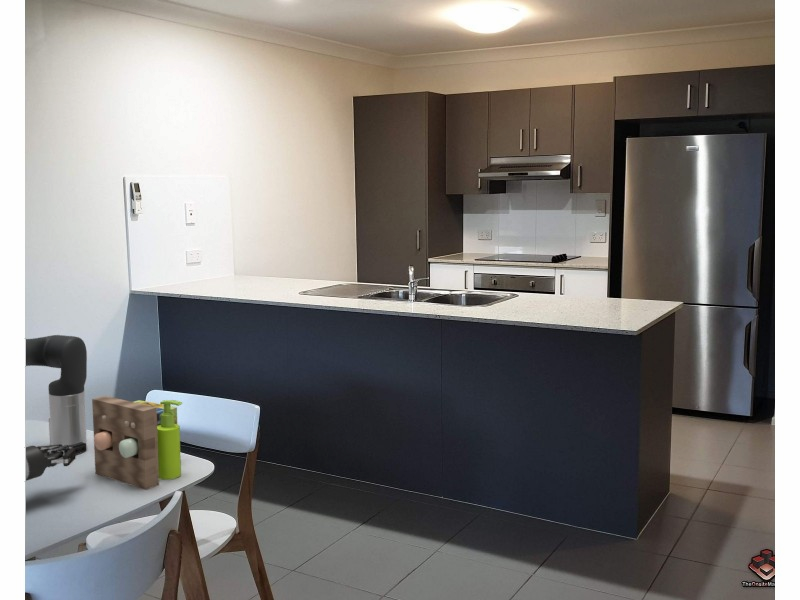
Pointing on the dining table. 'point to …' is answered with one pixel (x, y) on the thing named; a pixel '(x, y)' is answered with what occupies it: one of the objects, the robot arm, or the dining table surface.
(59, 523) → the dining table surface
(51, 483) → the dining table surface
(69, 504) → the dining table surface
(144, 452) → the button panel
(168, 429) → the soap dispenser
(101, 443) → the button one
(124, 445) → the button two
